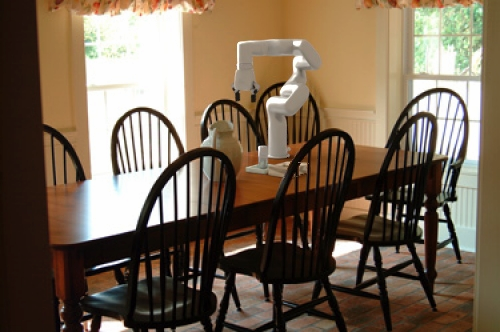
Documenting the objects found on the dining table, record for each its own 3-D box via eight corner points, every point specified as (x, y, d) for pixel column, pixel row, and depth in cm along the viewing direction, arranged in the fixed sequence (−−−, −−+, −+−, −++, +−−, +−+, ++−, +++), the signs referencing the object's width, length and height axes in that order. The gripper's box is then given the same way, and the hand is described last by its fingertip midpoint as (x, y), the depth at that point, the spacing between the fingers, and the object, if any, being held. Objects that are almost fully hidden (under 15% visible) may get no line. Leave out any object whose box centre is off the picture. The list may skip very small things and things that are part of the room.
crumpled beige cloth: (287, 169, 354) (287, 161, 353) (309, 172, 346) (309, 164, 346) (268, 175, 341) (268, 166, 340) (290, 178, 334) (290, 169, 333)
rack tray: (261, 167, 360) (261, 163, 359) (280, 169, 353) (280, 165, 353) (245, 171, 349) (245, 167, 349) (264, 174, 343) (264, 170, 342)
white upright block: (262, 168, 354) (262, 145, 352) (269, 169, 352) (269, 146, 349) (256, 169, 351) (256, 146, 349) (264, 170, 348) (264, 147, 346)
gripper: (226, 66, 366) (227, 101, 369) (254, 67, 356) (255, 103, 359) (235, 66, 372) (236, 100, 375) (264, 67, 362) (264, 102, 365)
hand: (245, 101), depth 367 cm, fingers open, 9 cm apart
